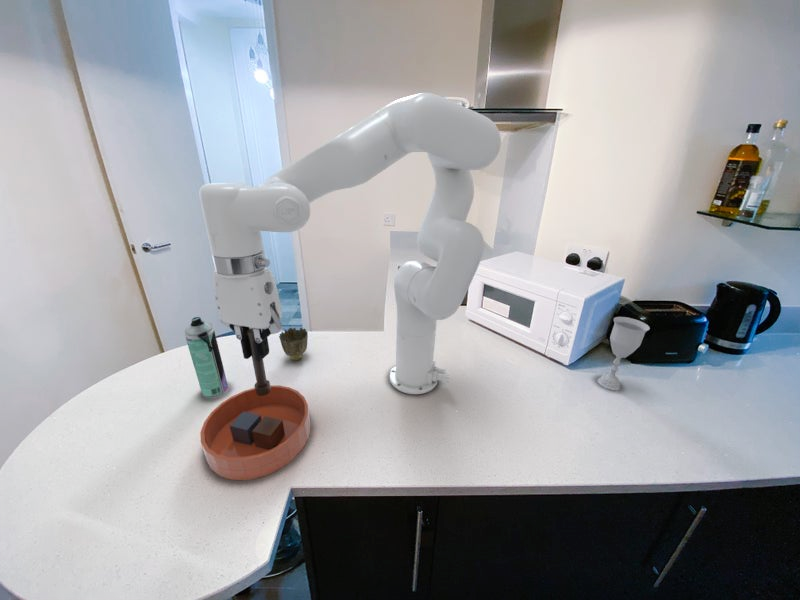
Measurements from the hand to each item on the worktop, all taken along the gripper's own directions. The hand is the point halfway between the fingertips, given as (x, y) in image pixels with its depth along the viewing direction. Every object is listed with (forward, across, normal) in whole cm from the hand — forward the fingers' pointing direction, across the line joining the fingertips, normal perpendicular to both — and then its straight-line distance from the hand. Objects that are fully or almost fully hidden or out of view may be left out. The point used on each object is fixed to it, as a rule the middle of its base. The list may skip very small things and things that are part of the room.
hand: (256, 355), depth 59 cm
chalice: (+18, -76, -36) cm, 86 cm away
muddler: (+9, 0, 0) cm, 9 cm away
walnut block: (+17, -3, +4) cm, 18 cm away
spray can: (+18, +19, -6) cm, 27 cm away
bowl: (+18, 0, +3) cm, 18 cm away
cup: (+18, +8, -24) cm, 31 cm away
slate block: (+17, +2, +4) cm, 18 cm away
